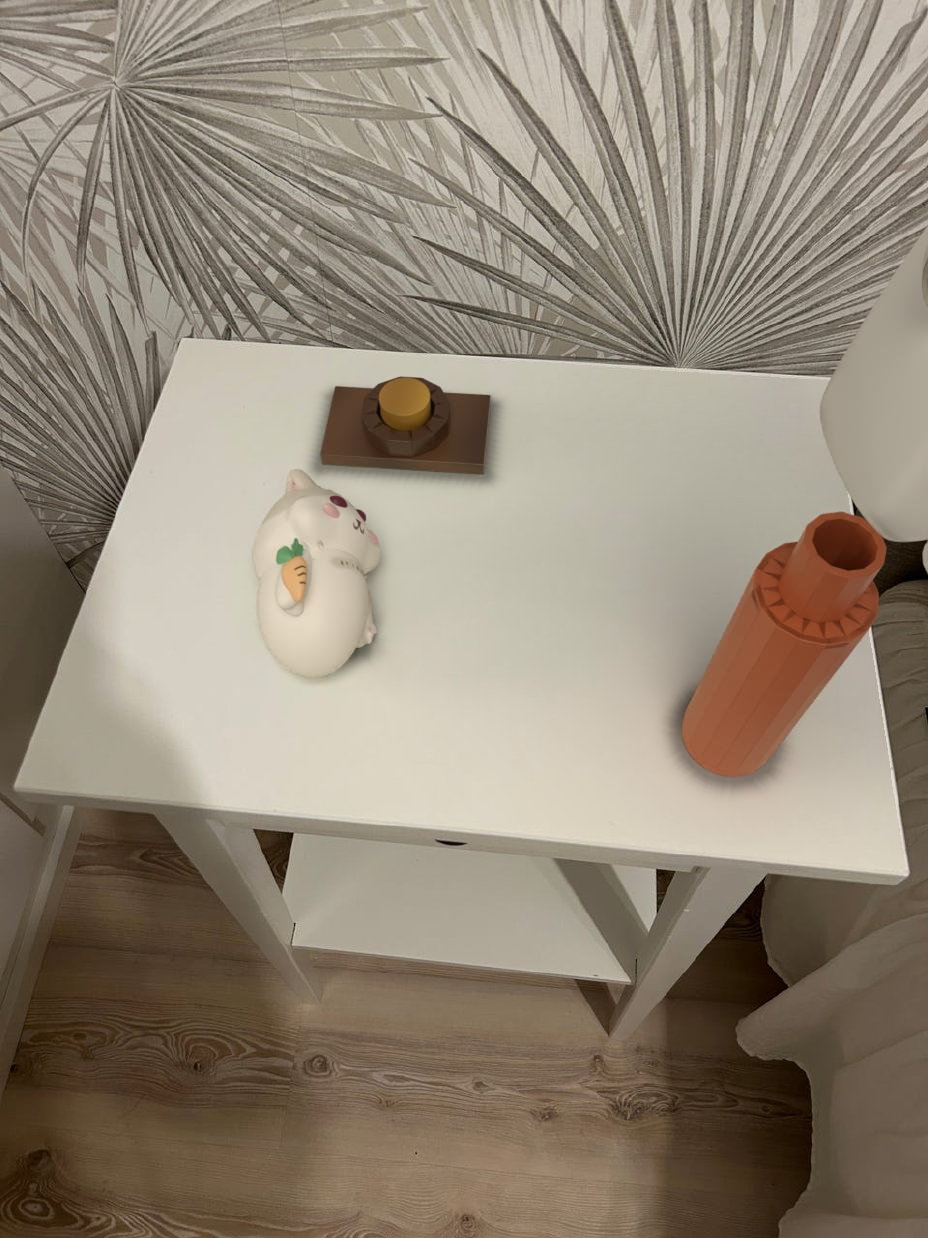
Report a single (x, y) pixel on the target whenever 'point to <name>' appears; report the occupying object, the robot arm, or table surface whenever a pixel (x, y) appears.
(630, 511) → the table surface
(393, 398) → the button
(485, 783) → the table surface
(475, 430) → the brown button base
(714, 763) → the orange bottle
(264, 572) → the cat figurine
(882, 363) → the robot arm
